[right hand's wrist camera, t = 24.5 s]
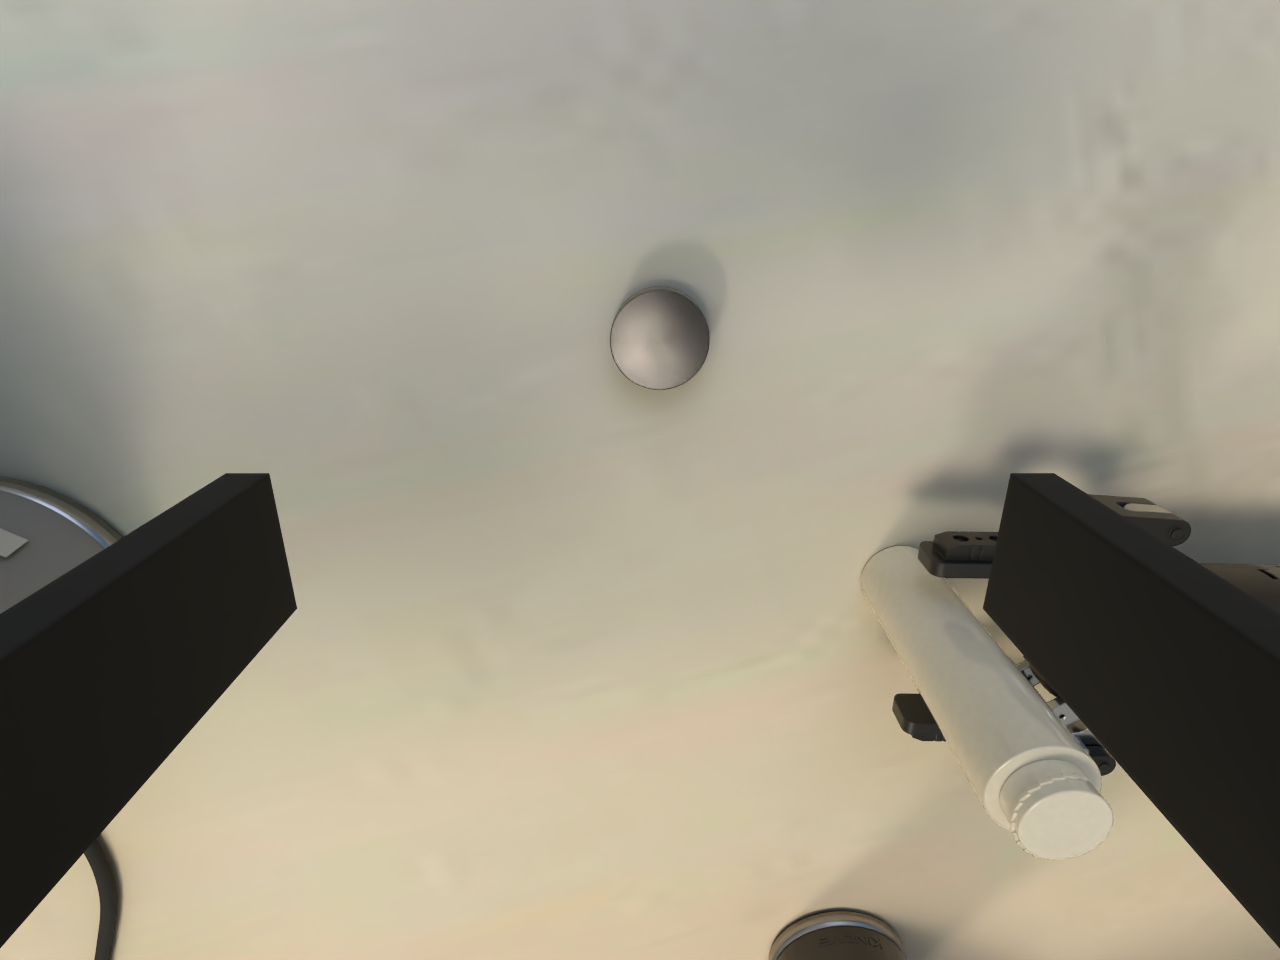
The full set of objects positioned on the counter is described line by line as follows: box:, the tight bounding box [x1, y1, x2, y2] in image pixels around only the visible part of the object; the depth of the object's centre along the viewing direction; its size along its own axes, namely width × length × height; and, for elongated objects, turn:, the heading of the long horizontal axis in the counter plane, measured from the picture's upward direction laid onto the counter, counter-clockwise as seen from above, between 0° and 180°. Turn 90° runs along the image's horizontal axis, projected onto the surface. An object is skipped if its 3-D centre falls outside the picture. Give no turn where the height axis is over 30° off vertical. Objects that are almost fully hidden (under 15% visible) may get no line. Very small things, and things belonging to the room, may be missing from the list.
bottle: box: [861, 546, 1113, 860], centre depth 30 cm, size 4×4×17 cm
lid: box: [610, 287, 709, 390], centre depth 33 cm, size 5×5×2 cm
